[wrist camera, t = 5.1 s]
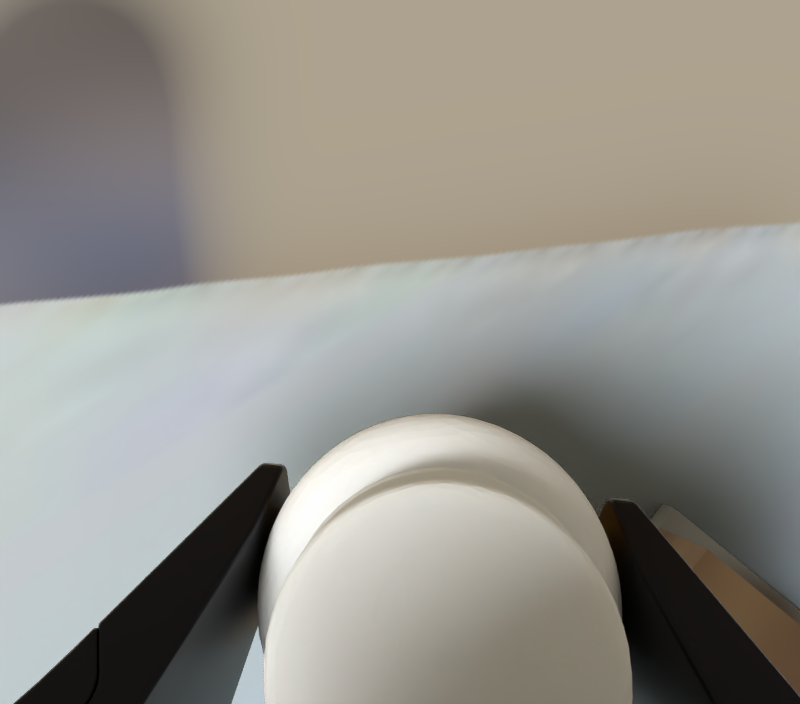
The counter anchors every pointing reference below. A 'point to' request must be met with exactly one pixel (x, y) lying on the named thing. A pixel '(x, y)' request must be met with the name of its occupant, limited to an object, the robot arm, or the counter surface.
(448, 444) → the supplement bottle
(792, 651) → the block
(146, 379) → the counter surface
